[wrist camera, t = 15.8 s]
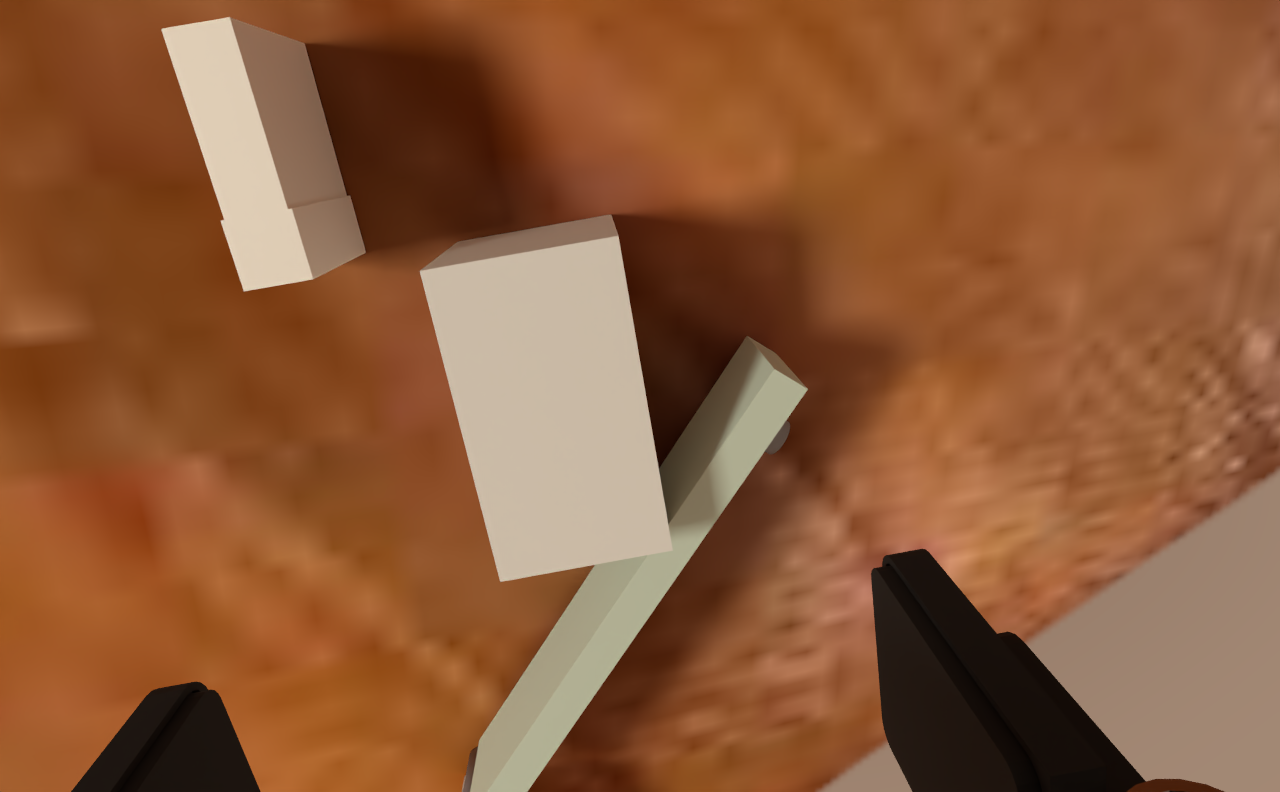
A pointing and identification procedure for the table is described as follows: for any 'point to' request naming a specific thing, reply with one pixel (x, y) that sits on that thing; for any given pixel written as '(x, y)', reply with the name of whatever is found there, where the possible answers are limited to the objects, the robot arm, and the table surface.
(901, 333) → the table surface
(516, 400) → the block
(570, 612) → the door
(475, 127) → the table surface
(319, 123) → the notched cream block
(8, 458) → the table surface
